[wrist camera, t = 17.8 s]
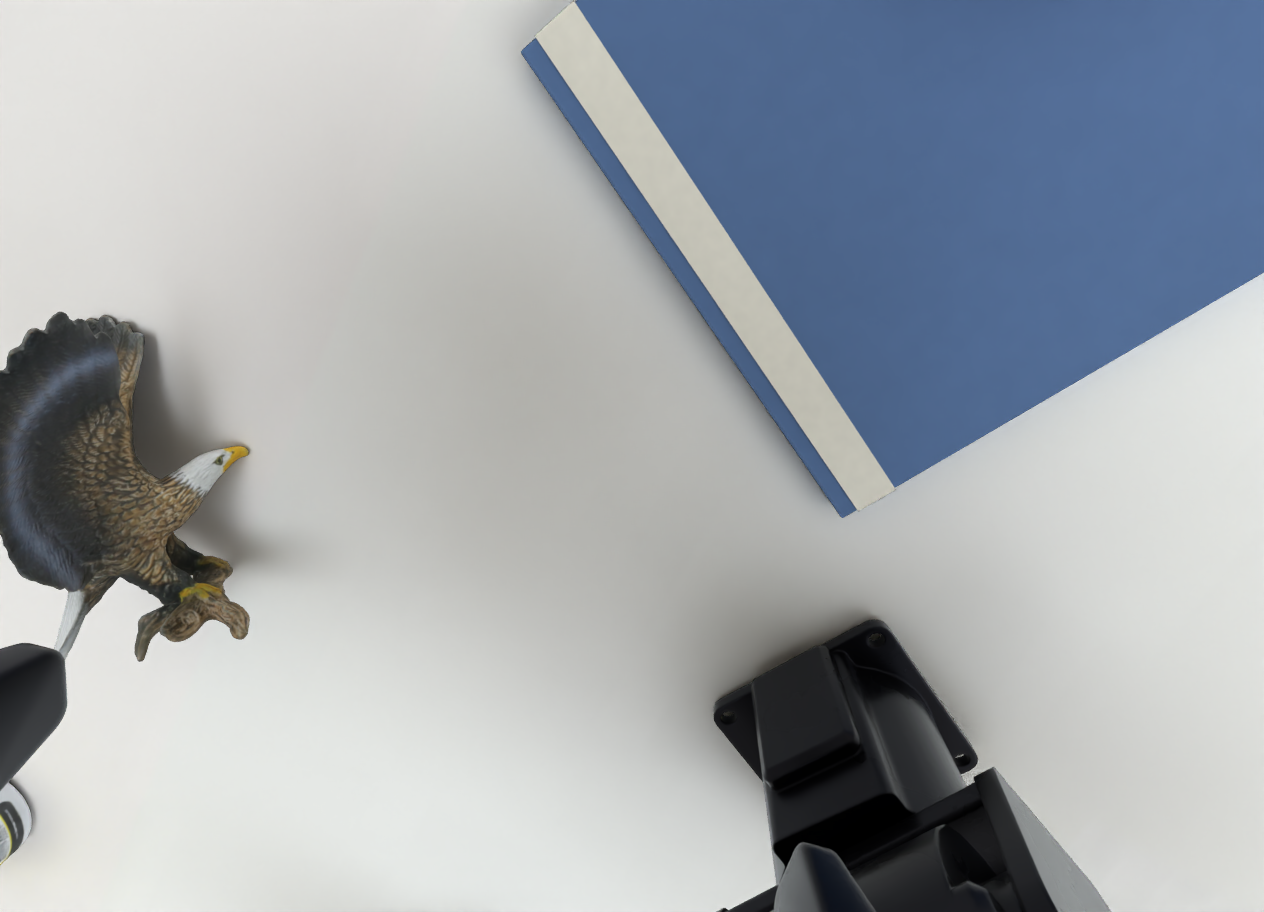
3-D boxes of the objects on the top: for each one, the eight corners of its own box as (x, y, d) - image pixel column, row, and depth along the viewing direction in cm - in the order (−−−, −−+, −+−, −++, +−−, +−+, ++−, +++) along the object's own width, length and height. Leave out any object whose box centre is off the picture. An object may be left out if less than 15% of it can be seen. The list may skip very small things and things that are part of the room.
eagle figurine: (363, 541, 21) (162, 266, 17) (135, 737, 16) (-214, 425, 12) (260, 526, 26) (85, 311, 22) (62, 674, 21) (-204, 436, 17)
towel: (1466, 137, 16) (1510, 132, 15) (836, 508, 20) (842, 520, 19) (1211, -559, 13) (1248, -615, 12) (527, 59, 17) (518, 50, 16)
